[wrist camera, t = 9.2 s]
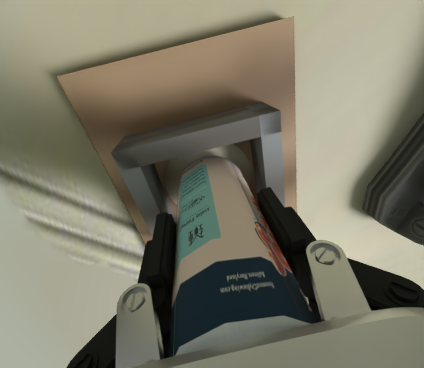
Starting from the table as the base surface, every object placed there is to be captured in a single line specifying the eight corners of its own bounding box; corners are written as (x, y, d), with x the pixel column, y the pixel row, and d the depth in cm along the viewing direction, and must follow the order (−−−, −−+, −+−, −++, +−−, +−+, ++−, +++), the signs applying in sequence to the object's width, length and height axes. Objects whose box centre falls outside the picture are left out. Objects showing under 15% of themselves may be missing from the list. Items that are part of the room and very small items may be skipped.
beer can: (229, 213, 17) (295, 434, 7) (172, 203, 16) (150, 447, 6) (251, 161, 15) (390, 368, 5) (186, 145, 14) (192, 369, 4)
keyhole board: (64, 75, 13) (21, 79, 10) (286, 19, 13) (323, 2, 9) (167, 276, 23) (164, 314, 20) (293, 246, 23) (312, 278, 19)
